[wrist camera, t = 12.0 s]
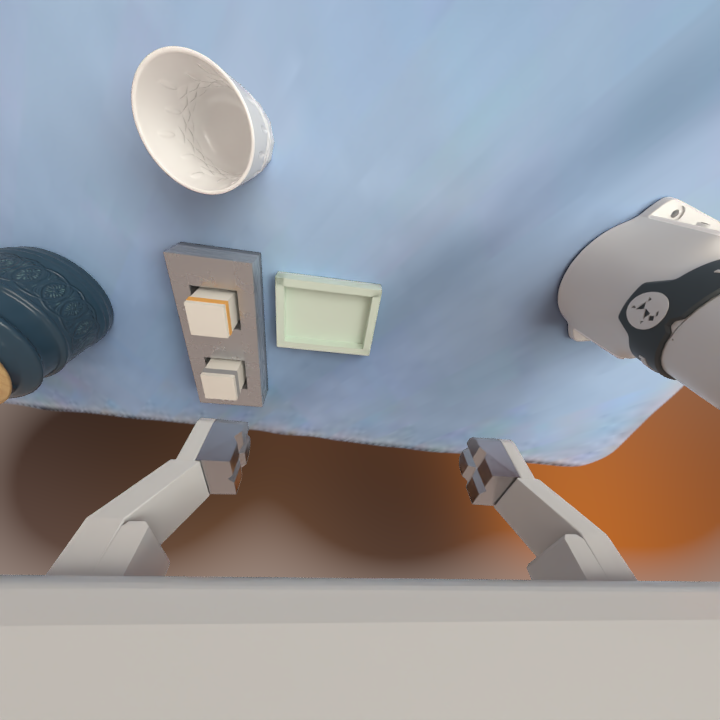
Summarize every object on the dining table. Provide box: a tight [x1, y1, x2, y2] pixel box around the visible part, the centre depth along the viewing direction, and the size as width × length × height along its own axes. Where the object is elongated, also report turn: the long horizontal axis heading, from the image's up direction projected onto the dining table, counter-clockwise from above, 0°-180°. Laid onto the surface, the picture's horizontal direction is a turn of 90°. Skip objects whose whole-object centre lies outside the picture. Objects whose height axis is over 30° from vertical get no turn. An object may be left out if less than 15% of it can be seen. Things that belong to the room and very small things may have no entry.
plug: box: [184, 287, 240, 338], centre depth 34 cm, size 4×4×6 cm
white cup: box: [131, 46, 274, 195], centre depth 24 cm, size 8×8×10 cm
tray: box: [275, 271, 382, 356], centre depth 39 cm, size 13×10×2 cm
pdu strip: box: [163, 242, 268, 407], centre depth 39 cm, size 9×22×4 cm, turn 172°
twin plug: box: [200, 358, 246, 401], centre depth 40 cm, size 4×4×6 cm
